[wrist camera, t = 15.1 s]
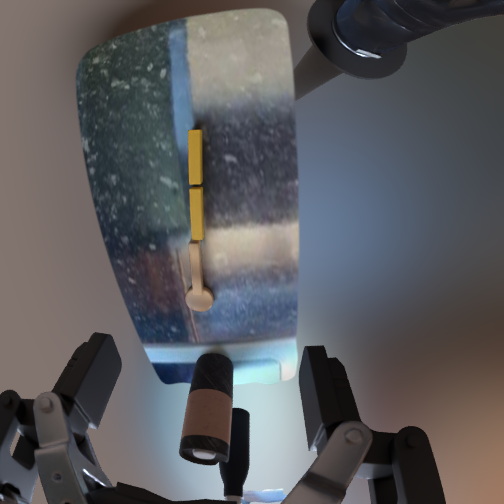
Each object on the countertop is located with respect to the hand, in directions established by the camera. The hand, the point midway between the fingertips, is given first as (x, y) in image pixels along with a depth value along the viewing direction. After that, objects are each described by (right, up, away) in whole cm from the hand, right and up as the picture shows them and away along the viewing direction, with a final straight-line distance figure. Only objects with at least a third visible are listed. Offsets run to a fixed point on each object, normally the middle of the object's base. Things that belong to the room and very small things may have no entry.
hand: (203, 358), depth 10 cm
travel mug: (-5, -17, +39) cm, 43 cm away
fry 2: (-5, +10, +26) cm, 29 cm away
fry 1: (-5, +17, +23) cm, 29 cm away
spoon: (-6, +1, +31) cm, 31 cm away
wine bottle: (-2, -34, +47) cm, 58 cm away
